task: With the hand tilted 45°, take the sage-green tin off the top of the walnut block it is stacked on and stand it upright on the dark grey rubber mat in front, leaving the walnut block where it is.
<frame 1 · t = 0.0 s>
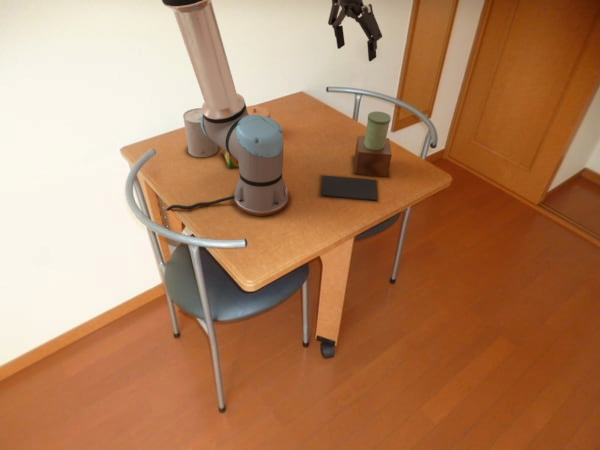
hand: (356, 52, 133), 28 cm above the table, tool tilted 20°, fingers open, 13 cm apart
rubber mat: (348, 188, 125), on the table
chalk box: (240, 159, 134), on the table, touching arm
trinket box: (255, 133, 148), on the table
grey cylinder: (203, 150, 138), on the table
walnut block: (370, 166, 134), on the table, touching green tin
green tin: (374, 144, 129), point 8 cm above the table, touching walnut block
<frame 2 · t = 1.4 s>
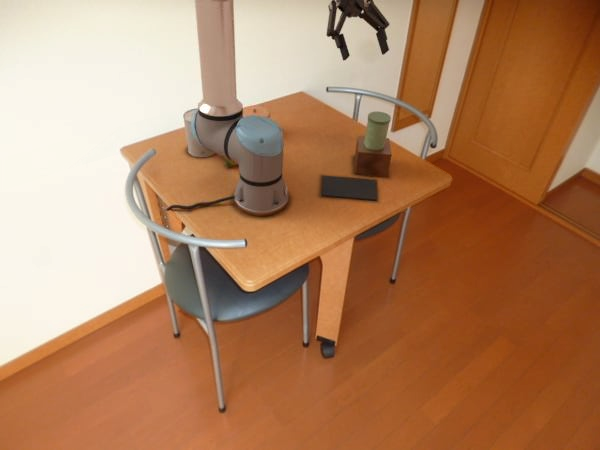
hand: (366, 55, 120), 32 cm above the table, tool tilted 45°, fingers open, 13 cm apart
chalk box: (239, 155, 133), point 1 cm above the table
everything else where it was.
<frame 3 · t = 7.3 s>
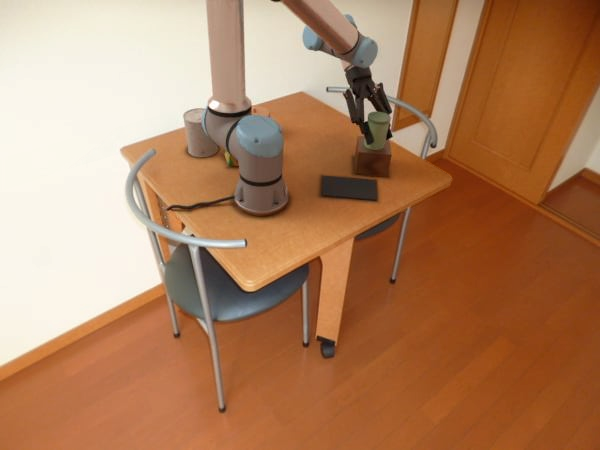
hand: (380, 140, 126), 11 cm above the table, tool tilted 45°, fingers closed on green tin, 6 cm apart
chalk box: (239, 159, 134), on the table, touching arm
green tin: (374, 144, 129), point 8 cm above the table, touching gripper, walnut block
everything else where it was.
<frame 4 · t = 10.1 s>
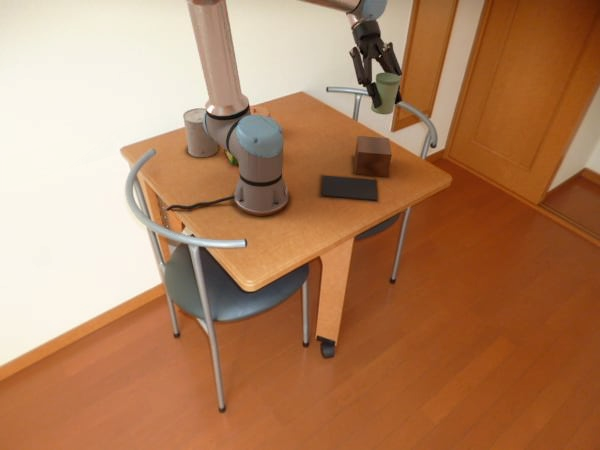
hand: (388, 104, 117), 23 cm above the table, tool tilted 45°, fingers closed on green tin, 6 cm apart
walnut block: (370, 166, 134), on the table
green tin: (382, 109, 120), point 20 cm above the table, touching gripper
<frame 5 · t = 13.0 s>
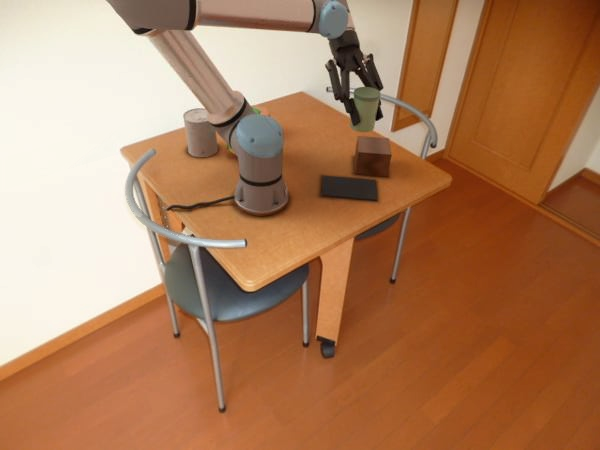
hand: (368, 121, 108), 23 cm above the table, tool tilted 45°, fingers closed on green tin, 6 cm apart
chalk box: (245, 154, 134), point 1 cm above the table, touching arm
green tin: (362, 126, 111), point 21 cm above the table, touching gripper
everything else where it was.
when the fingers open (3 cm above the table, at t = 17.6 s): green tin stays where it is, resting on rubber mat.
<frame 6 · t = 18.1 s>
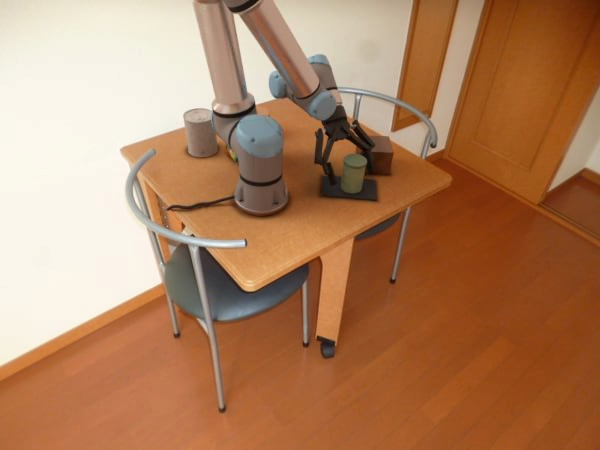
hand: (354, 179, 121), 4 cm above the table, tool tilted 45°, fingers open, 13 cm apart
chalk box: (243, 156, 135), on the table, touching arm
green tin: (351, 187, 125), resting on rubber mat
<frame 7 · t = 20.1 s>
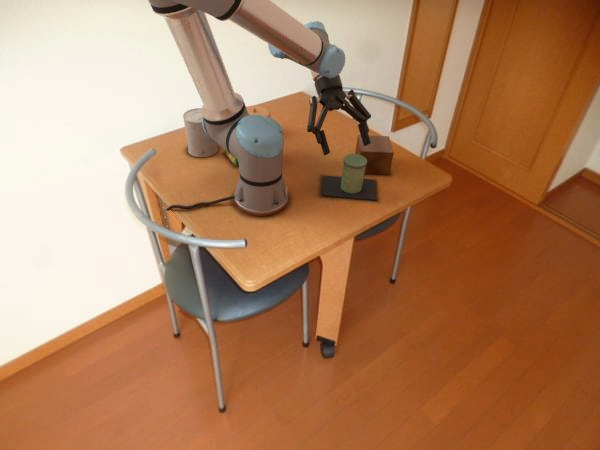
hand: (347, 149, 119), 12 cm above the table, tool tilted 45°, fingers open, 13 cm apart
chalk box: (243, 157, 135), on the table
everything else where it was.
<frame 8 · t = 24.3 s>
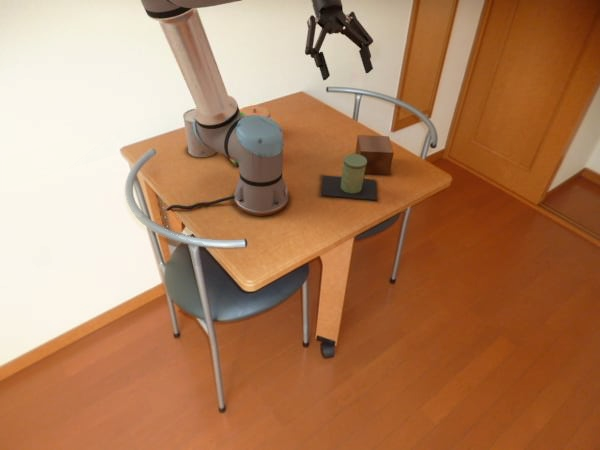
hand: (348, 74, 112), 31 cm above the table, tool tilted 45°, fingers open, 13 cm apart
nothing on the table moved.
at the end: green tin inside the target area on the rubber mat (0.6 cm from its centre), point 0.5 cm above the rubber mat's base; green tin tilted 0°; walnut block moved 1.0 cm from its start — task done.
